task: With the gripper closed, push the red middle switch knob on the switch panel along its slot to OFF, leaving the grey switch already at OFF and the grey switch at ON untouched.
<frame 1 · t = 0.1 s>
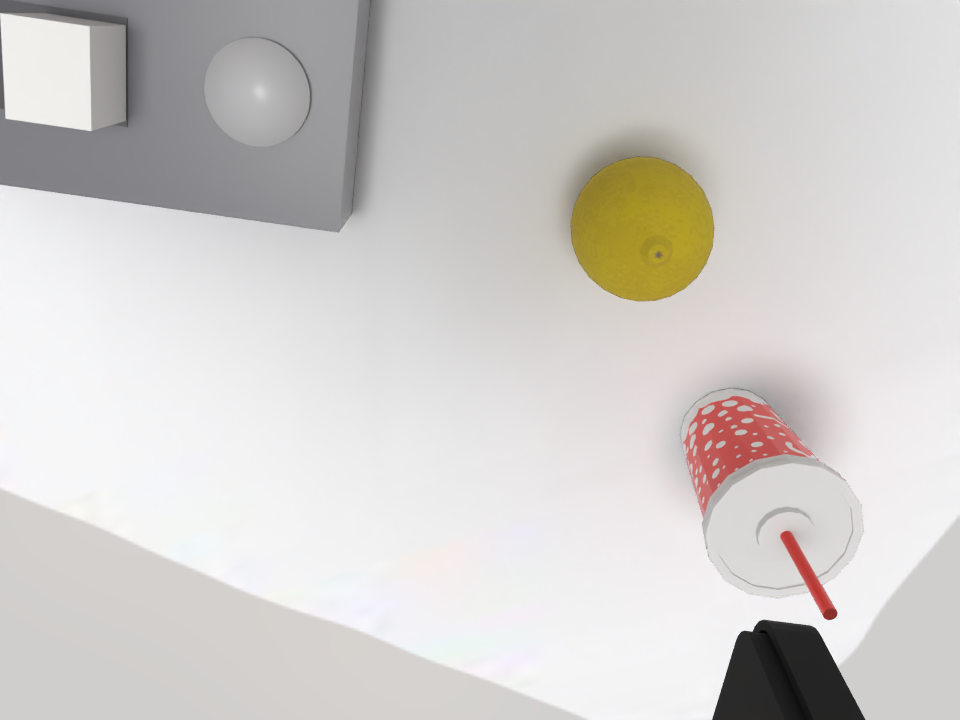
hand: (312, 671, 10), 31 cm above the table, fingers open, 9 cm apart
beverage cup: (726, 430, 43), on the table
lemon: (626, 207, 39), on the table
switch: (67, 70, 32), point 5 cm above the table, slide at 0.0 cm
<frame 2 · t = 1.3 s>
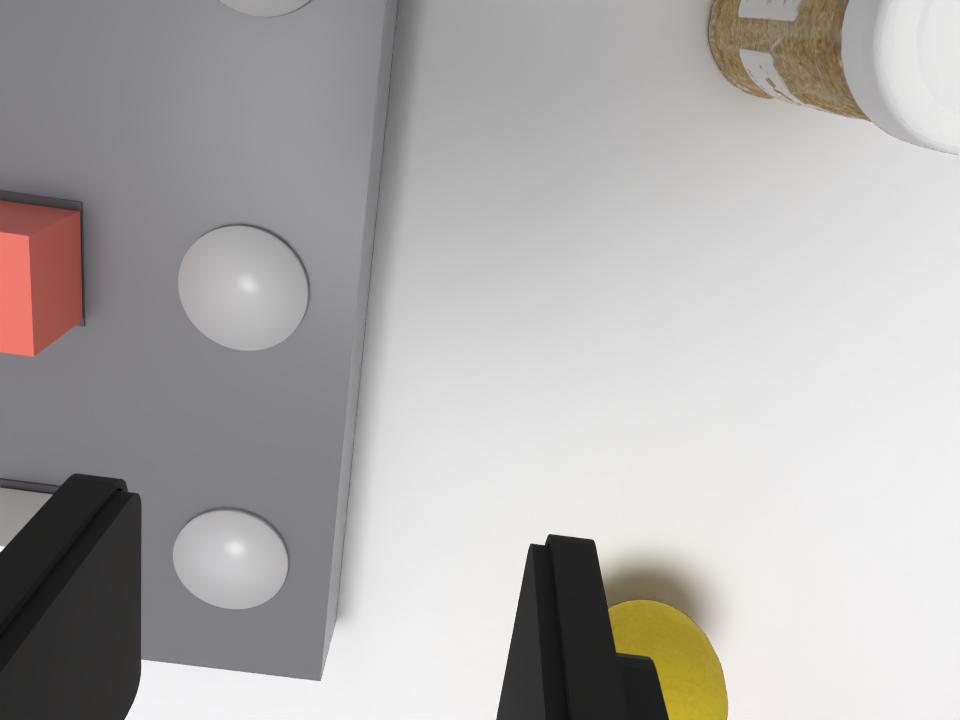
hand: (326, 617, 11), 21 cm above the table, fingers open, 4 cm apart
sprinkles bottle: (777, 22, 28), on the table
red switch: (5, 274, 26), point 5 cm above the table, slide at 0.0 cm
lemon: (631, 614, 37), on the table
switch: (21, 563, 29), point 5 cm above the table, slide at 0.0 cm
switch panel: (141, 240, 31), on the table
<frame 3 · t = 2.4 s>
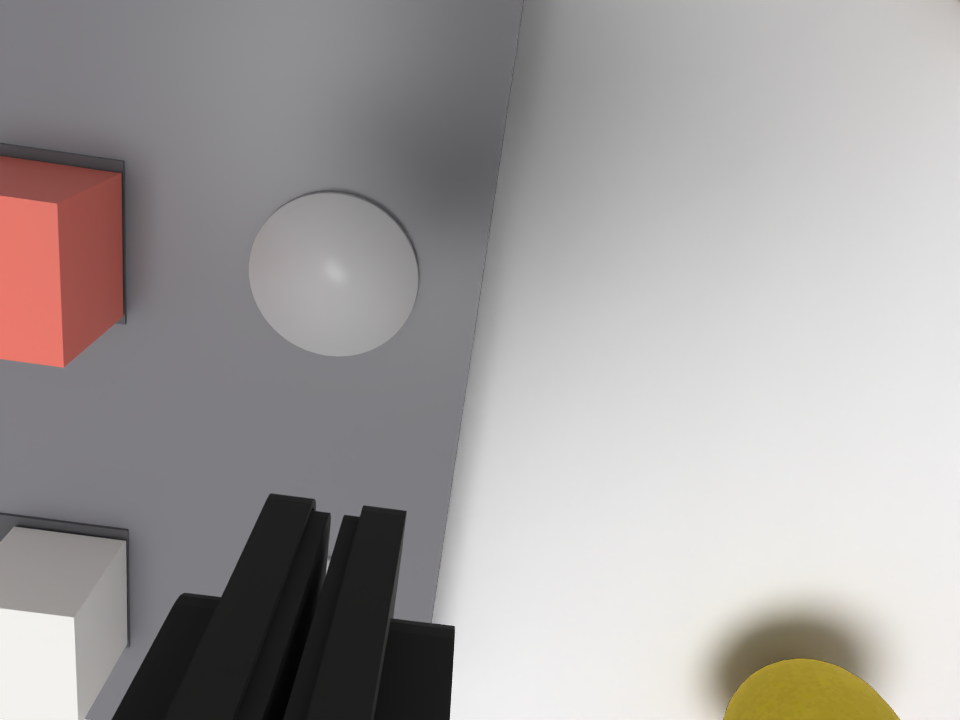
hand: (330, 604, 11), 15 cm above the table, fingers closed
red switch: (24, 256, 19), point 5 cm above the table, slide at 0.0 cm
lemon: (778, 670, 30), on the table
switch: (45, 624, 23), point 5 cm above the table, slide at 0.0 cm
switch panel: (193, 214, 24), on the table
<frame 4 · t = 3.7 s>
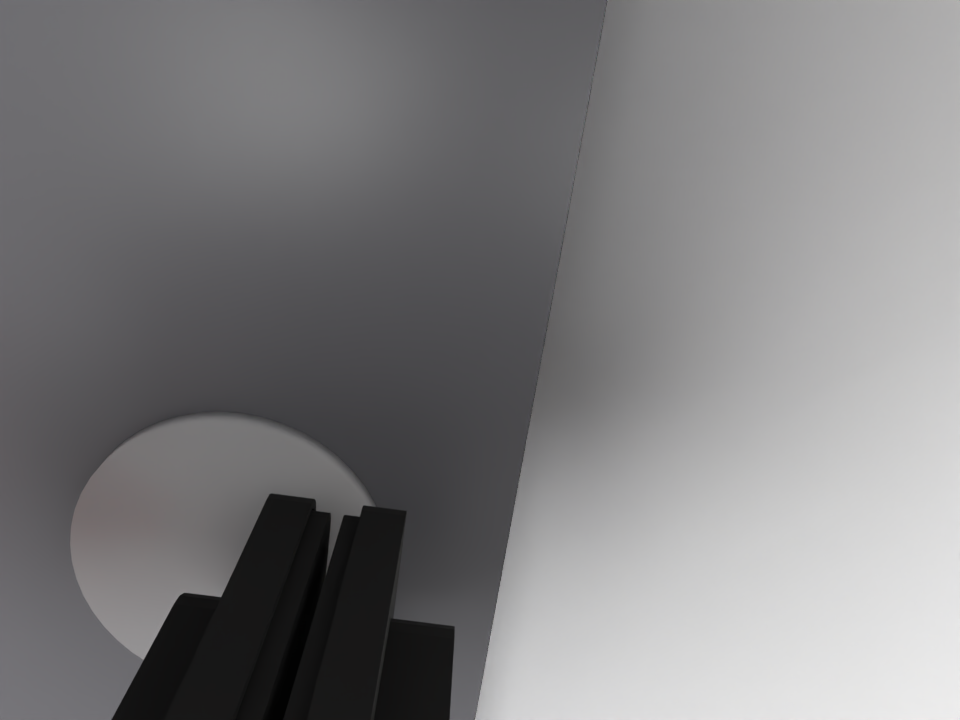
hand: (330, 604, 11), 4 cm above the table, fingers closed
switch panel: (19, 396, 15), on the table
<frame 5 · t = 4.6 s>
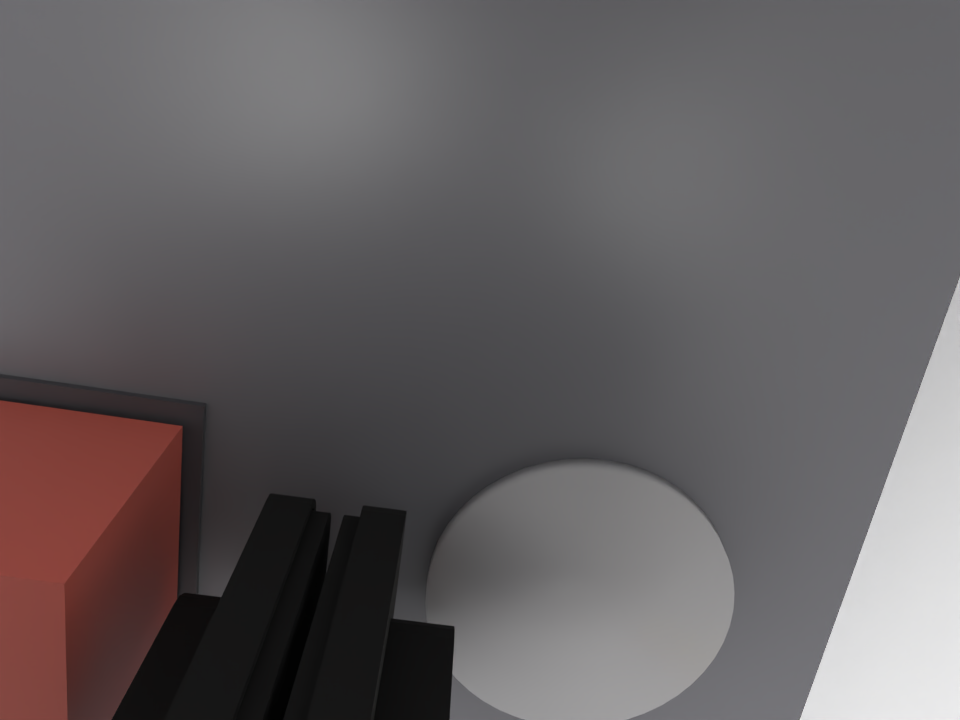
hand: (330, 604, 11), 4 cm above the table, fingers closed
switch panel: (294, 429, 15), on the table
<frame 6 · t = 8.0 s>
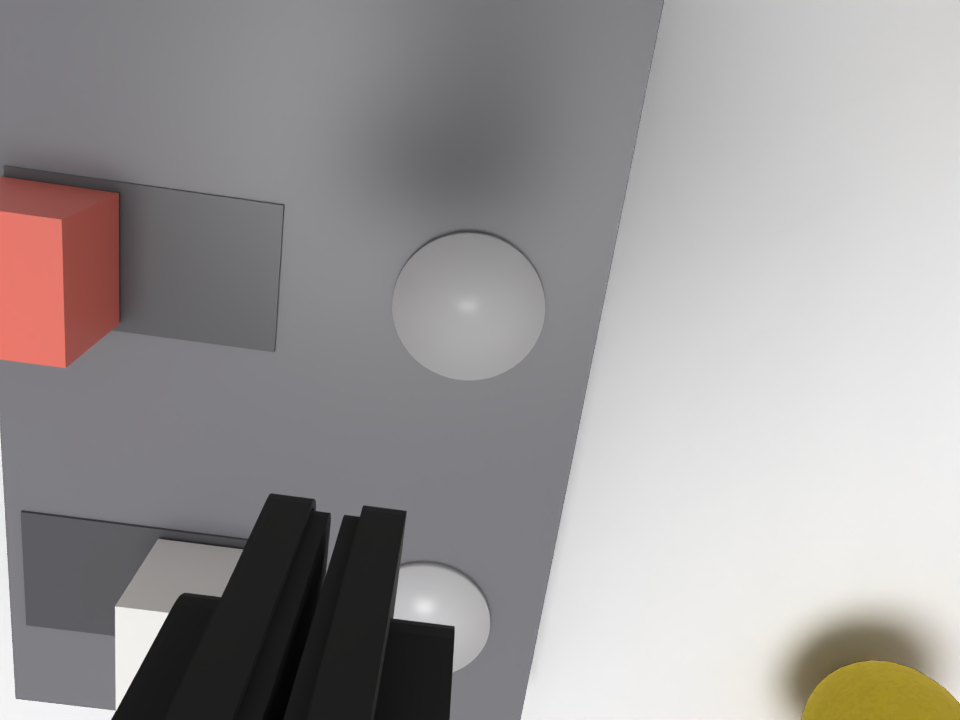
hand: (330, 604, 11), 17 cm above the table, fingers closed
red switch: (30, 268, 21), point 5 cm above the table, slide at 4.1 cm
lemon: (846, 673, 32), on the table
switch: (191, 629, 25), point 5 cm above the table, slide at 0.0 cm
switch panel: (322, 250, 27), on the table
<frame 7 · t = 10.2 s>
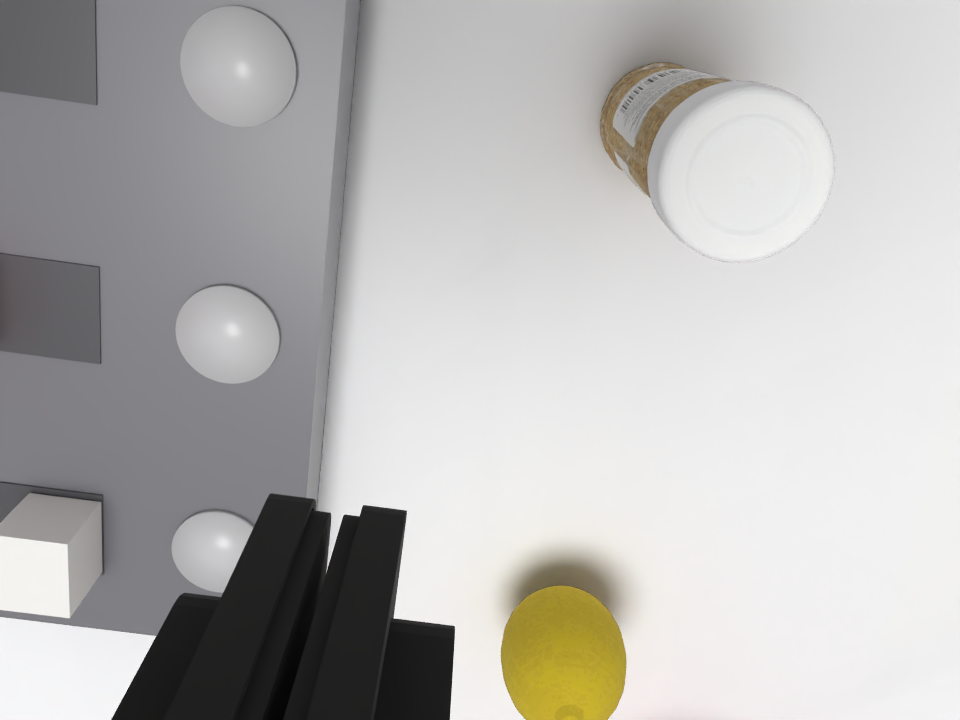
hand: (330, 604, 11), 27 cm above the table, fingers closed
sprinkles bottle: (656, 120, 35), on the table
lemon: (556, 598, 44), on the table
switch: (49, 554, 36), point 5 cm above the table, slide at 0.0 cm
switch panel: (146, 291, 38), on the table
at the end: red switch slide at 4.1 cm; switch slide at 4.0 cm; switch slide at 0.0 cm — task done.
